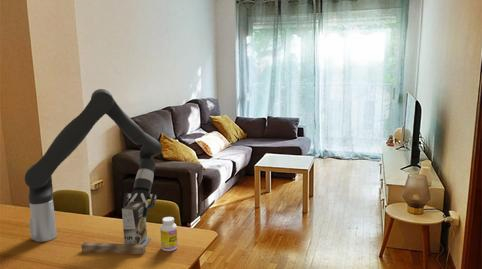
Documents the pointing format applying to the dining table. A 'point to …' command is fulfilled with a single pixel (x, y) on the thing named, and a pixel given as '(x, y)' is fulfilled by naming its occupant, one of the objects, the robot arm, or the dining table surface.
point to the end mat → (145, 241)
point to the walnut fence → (113, 248)
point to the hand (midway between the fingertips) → (135, 216)
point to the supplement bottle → (168, 234)
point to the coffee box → (134, 223)
